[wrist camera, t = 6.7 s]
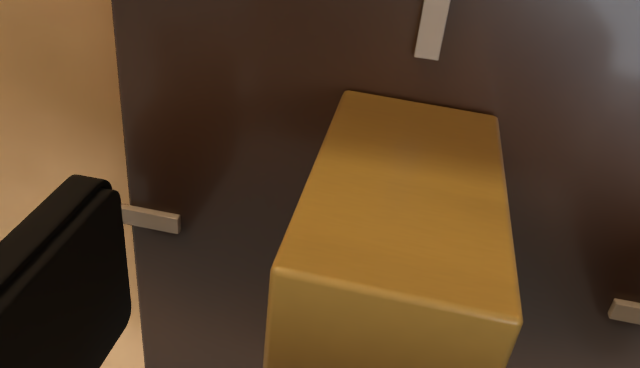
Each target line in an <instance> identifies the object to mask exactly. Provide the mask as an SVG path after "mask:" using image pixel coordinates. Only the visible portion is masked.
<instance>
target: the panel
mask: <svg viewBox="0 0 640 368" xmlns="http://www.w3.org/2000/svg"><path fill="white" fill-rule="evenodd" d="M111 2H112V13H113V24H114V35H115V46H116V57H117V67H118V78H119V89H120V100H121V111H122V122H123V133H124V144H125V155H126V166H127V177H128V187H129V198H130V205H126V204H121V208H122V218H123V224H129V225H132V231H133V242H134V253H135V264H136V275H137V286H138V296H139V307H140V318H141V329H142V340H143V351H144V362H145V368H263V358H264V345H265V332H266V319H267V306H268V293H269V280H270V269H271V267H272V264H273V262H274V259H275V257H276V255H277V252H278V250H279V247H280V245H281V242H282V240H283V238H284V235H285V233H286V230H287V228H288V225H289V223H290V221H291V218H292V216H293V213H294V211H295V209H296V206H297V204H298V201H299V199H300V196H301V194H302V192H303V189H304V187H305V184H306V182H307V179H308V177H309V175H310V172H311V170H312V167H313V165H314V162H315V160H316V158H317V155H318V153H319V150H320V148H321V146H322V143H323V141H324V138H325V136H326V133H327V131H328V129H329V126H330V124H331V121H332V119H333V116H334V114H335V112H336V109H337V107H338V104H339V102H340V99H341V97H342V95H343V93H344V91H348V90H350V91H355V92H361V93H367V94H373V95H378V96H384V97H390V98H396V99H401V100H407V101H413V102H418V103H424V104H430V105H436V106H441V107H447V108H453V109H459V110H464V111H470V112H476V113H482V114H487V115H493V116H496V117H497V118H498V122H499V130H500V139H501V147H502V155H503V163H504V171H505V179H506V187H507V195H508V203H509V211H510V219H511V227H512V235H513V243H514V251H515V259H516V267H517V275H518V283H519V292H520V300H521V308H522V316H523V325H522V327H521V330H520V332H519V335H518V338H517V340H516V343H515V345H514V348H513V351H512V353H511V356H510V358H509V361H508V363H507V366H506V368H640V0H111Z"/></svg>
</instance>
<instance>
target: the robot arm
mask: <svg viewBox="0 0 640 368" xmlns="http://www.w3.org/2000/svg"><path fill="white" fill-rule="evenodd" d="M130 314H131V298H130V288H129V278H128V268H127V258H126V248H125V238H124V228H123V218H122V208H121V199H120V194H119V193H118V192H117V191H116V190H112V187H111V184H110V183H109V182H108V181H107V180H103V179H98V178H92V177H87V176H82V175H72V176H70V177H69V178H68V179H66V180H65V181H64V182H63V183H62V184H61V185H60V186H59V187H58V188H57V189H56V190H55V191H54V192H53V193H52V194H51V195H50V196H48V197H47V198H46V199H45V200H44V201H43V202H42V203H41V204H40V205H39V206H38V207H37V208H36V209H35V210H34V211H33V212H31V213H30V214H29V215H28V216H27V217H26V218H25V219H24V220H23V221H22V222H21V223H20V224H19V225H18V226H17V227H16V228H14V229H13V230H12V231H11V232H10V233H9V234H8V235H7V236H6V237H5V238H4V239H3V240H2V241H1V242H0V368H100V366H101V365H102V363H103V362H104V360H105V359H106V357H107V355H108V354H109V352H110V351H111V349H112V348H113V346H114V345H115V343H116V341H117V340H118V338H119V337H120V335H121V334H122V332H123V331H124V329H125V327H126V326H127V324H128V321H129V318H130Z"/></svg>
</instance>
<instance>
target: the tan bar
mask: <svg viewBox="0 0 640 368" xmlns="http://www.w3.org/2000/svg"><path fill="white" fill-rule="evenodd" d="M522 325H523V316H522V308H521V300H520V292H519V283H518V275H517V267H516V259H515V251H514V243H513V235H512V227H511V219H510V211H509V203H508V195H507V187H506V179H505V171H504V163H503V155H502V147H501V139H500V130H499V122H498V118H497V117H496V116H493V115H487V114H482V113H476V112H470V111H464V110H459V109H453V108H447V107H441V106H436V105H430V104H424V103H418V102H413V101H407V100H401V99H396V98H390V97H384V96H378V95H373V94H367V93H361V92H355V91H350V90H348V91H344V93H343V95H342V97H341V99H340V102H339V104H338V107H337V109H336V112H335V114H334V116H333V119H332V121H331V124H330V126H329V129H328V131H327V133H326V136H325V138H324V141H323V143H322V146H321V148H320V150H319V153H318V155H317V158H316V160H315V162H314V165H313V167H312V170H311V172H310V175H309V177H308V179H307V182H306V184H305V187H304V189H303V192H302V194H301V196H300V199H299V201H298V204H297V206H296V209H295V211H294V213H293V216H292V218H291V221H290V223H289V225H288V228H287V230H286V233H285V235H284V238H283V240H282V242H281V245H280V247H279V250H278V252H277V255H276V257H275V259H274V262H273V264H272V267H271V269H270V280H269V293H268V306H267V319H266V332H265V345H264V358H263V368H506V366H507V363H508V361H509V358H510V356H511V353H512V351H513V348H514V345H515V343H516V340H517V338H518V335H519V332H520V330H521V327H522Z"/></svg>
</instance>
